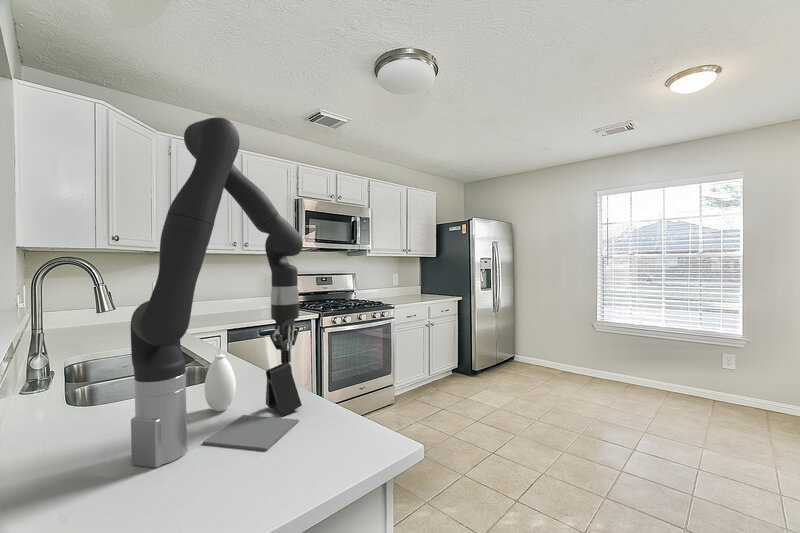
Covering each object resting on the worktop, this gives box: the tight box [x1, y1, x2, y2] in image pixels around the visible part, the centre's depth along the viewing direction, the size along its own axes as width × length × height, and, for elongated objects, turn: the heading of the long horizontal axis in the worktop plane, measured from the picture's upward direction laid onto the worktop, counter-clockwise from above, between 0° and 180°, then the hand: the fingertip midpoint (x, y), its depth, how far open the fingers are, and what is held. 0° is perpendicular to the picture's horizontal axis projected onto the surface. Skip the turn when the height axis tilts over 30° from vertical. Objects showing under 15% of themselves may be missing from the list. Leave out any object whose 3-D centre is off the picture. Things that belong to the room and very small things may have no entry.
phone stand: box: [265, 362, 303, 417], centre depth 104 cm, size 9×6×12 cm, turn 48°
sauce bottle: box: [203, 345, 237, 413], centre depth 105 cm, size 8×8×18 cm
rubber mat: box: [202, 414, 300, 452], centre depth 91 cm, size 15×16×1 cm
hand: (285, 362), depth 107 cm, fingers closed
